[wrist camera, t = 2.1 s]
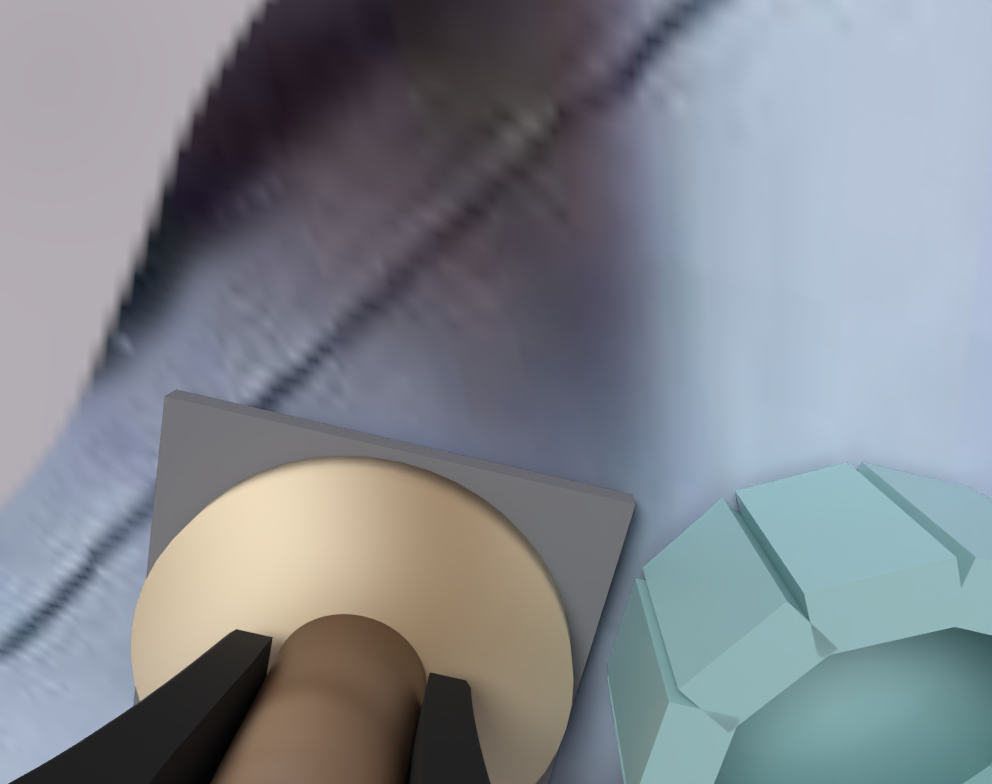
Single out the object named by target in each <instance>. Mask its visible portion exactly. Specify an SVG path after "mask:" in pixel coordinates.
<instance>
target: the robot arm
mask: <svg viewBox="0 0 992 784" xmlns="http://www.w3.org/2000/svg"><path fill="white" fill-rule="evenodd" d="M272 639H273V637H269V636H265V635H260V634H256V633H251V632H247V631H242V630H238V629H236V630H234V631H232V632H230V633H229V634H227V635H226V636H225V637H224V638H222V639H221V640H220V641H219V642H217V643H216V644H215V645H214V646H212V647H211V648H210V649H209V650H207V651H206V652H205V653H204V654H202V655H201V656H200V657H199V658H197V659H196V660H195V661H194V662H192V663H191V664H190V665H188V666H187V667H186V668H185V669H183V670H182V671H181V672H179V673H178V674H177V675H175V676H174V677H173V678H172V679H170V680H169V681H167V682H166V683H165V684H163V685H162V686H161V687H159V688H158V689H156V690H155V691H154V692H152V693H151V694H150V695H148V696H147V697H145V698H144V699H143V700H141V701H140V702H139V703H137V704H136V705H134V706H133V707H132V708H130V709H129V710H127V711H126V712H124V713H123V714H121V715H120V716H118V717H117V718H115V719H114V720H112V721H111V722H109V723H108V724H106V725H105V726H103V727H102V728H100V729H99V730H97V731H96V732H94V733H93V734H91V735H89V736H88V737H86V738H85V739H83V740H82V741H80V742H79V743H77V744H76V745H74V746H72V747H71V748H69V749H68V750H66V751H64V752H63V753H61V754H59V755H58V756H56V757H54V758H53V759H51V760H49V761H48V762H46V763H44V764H42V765H41V766H39V767H37V768H36V769H34V770H32V771H30V772H28V773H27V774H25V775H23V776H21V777H19V778H18V779H16V780H14V781H12V782H11V783H9V784H209V783H210V781H211V779H212V778H213V776H214V774H215V772H216V770H217V768H218V766H219V764H220V762H221V761H222V759H223V757H224V755H225V753H226V751H227V749H228V747H229V746H230V744H231V742H232V740H233V738H234V736H235V734H236V732H237V730H238V729H239V727H240V725H241V723H242V721H243V719H244V717H245V715H246V713H247V712H248V710H249V708H250V706H251V704H252V702H253V700H254V698H255V696H256V695H257V693H258V691H259V689H260V687H261V685H262V683H263V681H264V679H265V678H266V676H267V670H268V663H269V657H270V651H271V645H272ZM407 784H491V783H490V780H489V776H488V773H487V769H486V766H485V762H484V758H483V754H482V751H481V746H480V742H479V737H478V733H477V728H476V723H475V718H474V712H473V705H472V697H471V687H470V686H469V684H468V682H467V681H466V680H462V679H458V678H453V677H449V676H445V675H440V674H436V673H431V672H430V673H429V677H428V681H427V686H426V690H425V694H424V698H423V702H422V706H421V711H420V716H419V721H418V726H417V731H416V735H415V740H414V745H413V750H412V755H411V762H410V769H409V776H408V782H407Z"/></svg>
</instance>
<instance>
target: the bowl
mask: <svg viewBox="0 0 992 784" xmlns="http://www.w3.org/2000/svg"><path fill="white" fill-rule="evenodd" d="M735 493H736V497H737V501H738V506H739V510H740V513H739V512H738V511H737V510H736V509H734V508H733V507H732V506H731V505H730V504H729V503H728V502H727V501H726V500H725V499H724V498H723V497H722V498H721V499H720V500H719V501H718V502H717V503H716V504H715V505H713V506H712V507H711V508H710V509H709V510H708V511H707V512H705V513H704V514H703V515H702V516H701V517H700V518H699V519H697V520H696V521H695V522H694V523H693V524H692V525H691V526H689V527H688V528H687V529H686V530H685V531H684V532H683V533H681V534H680V535H679V536H678V537H677V538H676V539H675V540H673V541H672V542H671V543H670V544H669V545H668V546H667V547H665V548H664V549H663V550H662V551H661V552H660V553H659V554H657V555H656V556H655V557H654V558H653V559H652V560H651V561H649V562H648V563H647V564H646V565H645V566H644V567H643V568H642V569H643V572H644V576H645V579H646V580H641V579H637V578H635V581H634V584H633V587H632V590H631V593H630V596H629V599H628V602H627V605H626V608H625V612H624V615H623V618H622V621H621V624H620V627H619V630H618V633H617V636H616V639H615V642H614V646H613V649H612V652H611V655H610V658H609V661H608V664H607V669H608V676H607V681H608V687H609V693H610V699H611V706H612V712H613V718H614V724H615V731H616V737H617V743H618V749H619V756H620V762H621V768H622V774H623V780H624V784H992V500H991V499H989V498H988V497H986V496H985V495H983V494H980V493H978V492H977V491H975V490H974V489H972V488H971V487H967V486H963V485H959V484H955V483H950V482H946V481H942V480H937V479H933V478H929V477H924V476H920V475H916V474H912V473H907V472H903V471H899V470H894V469H890V468H886V467H882V466H877V465H873V464H869V463H864V462H862V463H861V465H860V468H859V470H858V471H857V470H856V469H855V468H854V467H853V466H851V465H850V464H849V463H848V462H846V463H842V464H838V465H835V466H831V467H827V468H823V469H819V470H815V471H811V472H807V473H803V474H799V475H795V476H791V477H788V478H784V479H780V480H776V481H772V482H768V483H764V484H760V485H756V486H752V487H748V488H744V489H740V490H737V491H735Z"/></svg>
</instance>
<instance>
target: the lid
mask: <svg viewBox="0 0 992 784" xmlns="http://www.w3.org/2000/svg"><path fill="white" fill-rule="evenodd" d="M236 629H238V630H242V631H247V632H251V633H256V634H260V635H265V636H269V637H273V639H272V645H271V651H270V657H269V663H268V670H267V676H266V678H265V679H264V681H263V683H262V685H261V687H260V689H259V691H258V693H257V695H256V696H255V698H254V700H253V702H252V704H251V706H250V708H249V710H248V712H247V713H246V715H245V717H244V719H243V721H242V723H241V725H240V727H239V729H238V730H237V732H236V734H235V736H234V738H233V740H232V742H231V744H230V746H229V747H228V749H227V751H226V753H225V755H224V757H223V759H222V761H221V762H220V764H219V766H218V768H217V770H216V772H215V774H214V776H213V778H212V779H211V781H210V783H209V784H407V782H408V776H409V769H410V762H411V755H412V750H413V745H414V740H415V735H416V731H417V726H418V721H419V716H420V711H421V706H422V702H423V698H424V694H425V690H426V686H427V681H428V677H429V673H430V672H431V673H436V674H440V675H445V676H449V677H453V678H458V679H462V680H466V681H467V682H468V684H469V686H470V687H471V697H472V705H473V712H474V718H475V723H476V728H477V733H478V737H479V742H480V746H481V751H482V754H483V758H484V762H485V766H486V769H487V773H488V776H489V780H490V783H491V784H536V782H537V781H538V780H539V779H540V777H541V776H542V775H543V774H544V773H545V771H546V769H547V768H548V766H549V764H550V763H551V761H552V759H553V758H554V756H555V754H556V752H557V751H558V748H559V746H560V743H561V741H562V738H563V736H564V733H565V731H566V728H567V723H568V719H569V715H570V711H571V706H572V695H573V681H574V679H573V667H572V655H571V644H570V634H569V625H568V621H567V617H566V612H565V608H564V604H563V601H562V598H561V596H560V593H559V591H558V588H557V586H556V583H555V581H554V578H553V577H552V575H551V573H550V571H549V570H548V568H547V566H546V564H545V563H544V561H543V559H542V557H541V556H540V554H539V553H538V552H537V550H536V549H535V548H534V547H533V545H532V544H531V543H530V541H529V540H528V539H527V537H526V536H525V535H524V534H523V533H522V532H521V531H520V530H519V529H518V528H517V527H516V526H515V525H514V524H513V523H512V522H511V521H510V520H509V519H508V518H507V517H506V516H505V515H504V514H503V513H502V512H500V511H499V510H498V509H496V508H495V507H494V506H493V505H491V504H490V503H489V502H487V501H486V500H485V499H483V498H482V497H481V496H479V495H477V494H476V493H474V492H472V491H470V490H469V489H467V488H465V487H464V486H462V485H460V484H458V483H457V482H455V481H452V480H450V479H448V478H445V477H443V476H441V475H439V474H436V473H434V472H432V471H429V470H426V469H423V468H419V467H416V466H413V465H409V464H406V463H402V462H398V461H392V460H386V459H380V458H375V457H363V456H329V457H316V458H309V459H304V460H299V461H295V462H290V463H285V464H282V465H279V466H276V467H273V468H271V469H268V470H265V471H262V472H259V473H257V474H255V475H253V476H251V477H249V478H247V479H245V480H243V481H241V482H239V483H237V484H235V485H234V486H232V487H231V488H229V489H228V490H227V491H225V492H224V493H222V494H221V495H220V496H218V497H217V498H215V499H214V500H212V501H211V502H210V503H209V504H208V505H207V506H206V507H205V508H204V509H203V510H202V511H201V512H200V513H199V514H198V515H197V516H196V517H195V518H194V519H193V520H192V521H191V522H190V523H189V524H188V525H187V526H186V527H185V528H184V529H183V530H182V531H181V532H180V533H179V534H178V535H177V536H176V537H175V538H174V539H173V540H172V541H171V542H170V544H169V545H168V546H167V548H166V549H165V550H164V551H163V553H162V554H161V555H160V557H159V558H158V559H157V561H156V562H155V564H154V566H153V568H152V570H151V572H150V573H149V575H148V577H147V579H146V581H145V583H144V585H143V588H142V591H141V594H140V597H139V599H138V602H137V605H136V609H135V614H134V620H133V626H132V631H131V661H132V668H133V676H134V682H135V686H136V689H137V693H138V696H139V700H140V701H141V700H143V699H144V698H145V697H147V696H148V695H150V694H151V693H152V692H154V691H155V690H156V689H158V688H159V687H161V686H162V685H163V684H165V683H166V682H167V681H169V680H170V679H172V678H173V677H174V676H175V675H177V674H178V673H179V672H181V671H182V670H183V669H185V668H186V667H187V666H188V665H190V664H191V663H192V662H194V661H195V660H196V659H197V658H199V657H200V656H201V655H202V654H204V653H205V652H206V651H207V650H209V649H210V648H211V647H212V646H214V645H215V644H216V643H217V642H219V641H220V640H221V639H222V638H224V637H225V636H226V635H227V634H229V633H230V632H232V631H234V630H236Z"/></svg>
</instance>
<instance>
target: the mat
mask: <svg viewBox="0 0 992 784" xmlns="http://www.w3.org/2000/svg"><path fill="white" fill-rule="evenodd" d="M329 456H363V457H375V458H380V459H386V460H392V461H398V462H402V463H406V464H409V465H413V466H416V467H419V468H423V469H426V470H429V471H432V472H434V473H436V474H439V475H441V476H443V477H445V478H448V479H450V480H452V481H455V482H457V483H458V484H460V485H462V486H464V487H465V488H467V489H469V490H470V491H472V492H474V493H476V494H477V495H479V496H481V497H482V498H483V499H485V500H486V501H487V502H489V503H490V504H491V505H493V506H494V507H495V508H496V509H498V510H499V511H500V512H502V513H503V514H504V515H505V516H506V517H507V518H508V519H509V520H510V521H511V522H512V523H513V524H514V525H515V526H516V527H517V528H518V529H519V530H520V531H521V532H522V533H523V534H524V535H525V536H526V537H527V539H528V540H529V541H530V543H531V544H532V545H533V547H534V548H535V549H536V550H537V552H538V553H539V554H540V556H541V557H542V559H543V561H544V563H545V564H546V566H547V568H548V570H549V571H550V573H551V575H552V577H553V578H554V581H555V583H556V586H557V588H558V591H559V593H560V596H561V598H562V601H563V604H564V608H565V612H566V617H567V621H568V625H569V634H570V644H571V655H572V667H573V679H574V681H573V695H572V706H573V703H574V699H575V696H576V693H577V690H578V687H579V684H580V680H581V677H582V674H583V671H584V668H585V664H586V661H587V658H588V655H589V652H590V648H591V645H592V642H593V639H594V636H595V632H596V629H597V626H598V623H599V620H600V616H601V613H602V610H603V607H604V604H605V600H606V597H607V594H608V591H609V588H610V584H611V581H612V578H613V575H614V572H615V568H616V565H617V562H618V559H619V556H620V553H621V549H622V546H623V543H624V540H625V537H626V533H627V530H628V527H629V524H630V521H631V517H632V514H633V511H634V508H635V505H636V504H635V501H634V498H633V495H632V494H628V493H623V492H619V491H615V490H610V489H606V488H602V487H597V486H593V485H589V484H584V483H580V482H576V481H571V480H567V479H563V478H558V477H554V476H549V475H545V474H541V473H536V472H532V471H528V470H523V469H519V468H515V467H510V466H506V465H502V464H497V463H493V462H489V461H484V460H480V459H476V458H471V457H467V456H463V455H458V454H454V453H450V452H445V451H441V450H437V449H432V448H428V447H423V446H419V445H415V444H410V443H406V442H402V441H397V440H393V439H389V438H384V437H380V436H376V435H371V434H367V433H363V432H358V431H354V430H350V429H345V428H341V427H337V426H332V425H328V424H324V423H319V422H315V421H311V420H306V419H302V418H297V417H293V416H289V415H284V414H280V413H276V412H271V411H267V410H263V409H258V408H254V407H250V406H245V405H241V404H237V403H232V402H228V401H224V400H219V399H215V398H211V397H206V396H202V395H198V394H193V393H189V392H184V391H180V390H175V391H173V392H171V393H169V394H168V395H166V396H165V399H164V408H163V418H162V428H161V438H160V448H159V458H158V468H157V478H156V488H155V498H154V508H153V517H152V527H151V537H150V547H149V557H148V567H147V577H148V575H149V573H150V572H151V570H152V568H153V566H154V564H155V562H156V561H157V559H158V558H159V557H160V555H161V554H162V553H163V551H164V550H165V549H166V548H167V546H168V545H169V544H170V542H171V541H172V540H173V539H174V538H175V537H176V536H177V535H178V534H179V533H180V532H181V531H182V530H183V529H184V528H185V527H186V526H187V525H188V524H189V523H190V522H191V521H192V520H193V519H194V518H195V517H196V516H197V515H198V514H199V513H200V512H201V511H202V510H203V509H204V508H205V507H206V506H207V505H208V504H209V503H210V502H211V501H212V500H214V499H215V498H217V497H218V496H220V495H221V494H222V493H224V492H225V491H227V490H228V489H229V488H231V487H232V486H234V485H235V484H237V483H239V482H241V481H243V480H245V479H247V478H249V477H251V476H253V475H255V474H257V473H259V472H262V471H265V470H268V469H271V468H273V467H276V466H279V465H282V464H285V463H290V462H295V461H299V460H304V459H309V458H316V457H329ZM147 577H146V579H147ZM139 702H140V700H139V696H138V693H137V689H136V686H135V696H134V705H136V704H137V703H139ZM572 706H571V709H572ZM570 712H571V711H570ZM560 744H561V743H560ZM559 747H560V746H559ZM558 751H559V748H558ZM558 751H557V752H556V754H555V756H554V758H553V759H552V761H551V763H550V764H549V766H548V768H547V769H546V771H545V773H544V774H543V775H542V776H541V777H540V779H539V780H538V781H537V782H536V784H548V783H549V779H550V776H551V773H552V770H553V767H554V763H555V760H556V757H557V754H558Z"/></svg>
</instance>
